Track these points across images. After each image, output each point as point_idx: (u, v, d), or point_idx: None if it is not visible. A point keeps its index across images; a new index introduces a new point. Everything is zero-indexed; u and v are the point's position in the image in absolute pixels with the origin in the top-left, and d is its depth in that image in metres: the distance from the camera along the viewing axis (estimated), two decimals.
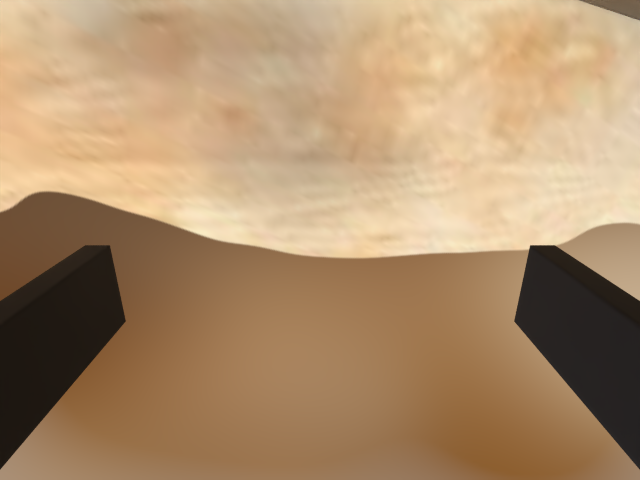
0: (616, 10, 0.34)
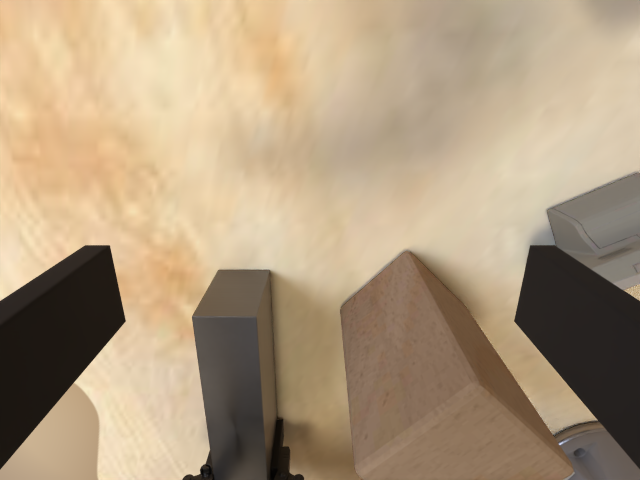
0: None
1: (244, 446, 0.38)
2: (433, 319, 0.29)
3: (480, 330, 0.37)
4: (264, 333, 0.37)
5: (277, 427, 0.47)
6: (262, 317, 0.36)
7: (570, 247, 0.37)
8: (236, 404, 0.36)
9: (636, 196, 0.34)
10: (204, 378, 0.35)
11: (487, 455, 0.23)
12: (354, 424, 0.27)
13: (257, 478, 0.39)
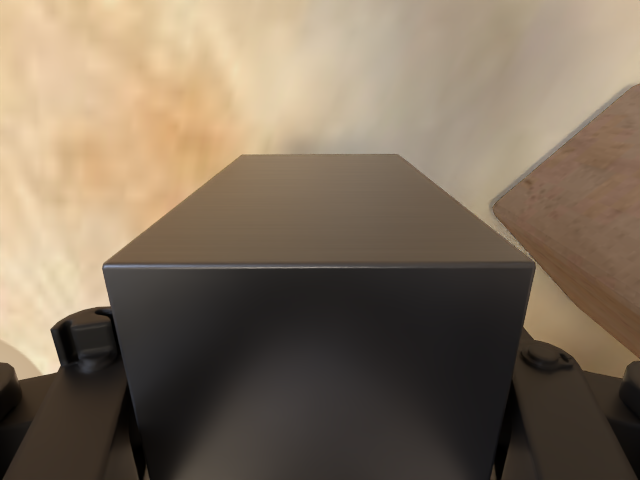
0: None
1: None
2: None
3: None
4: None
5: None
6: None
7: None
8: None
9: None
10: None
11: None
12: None
13: None
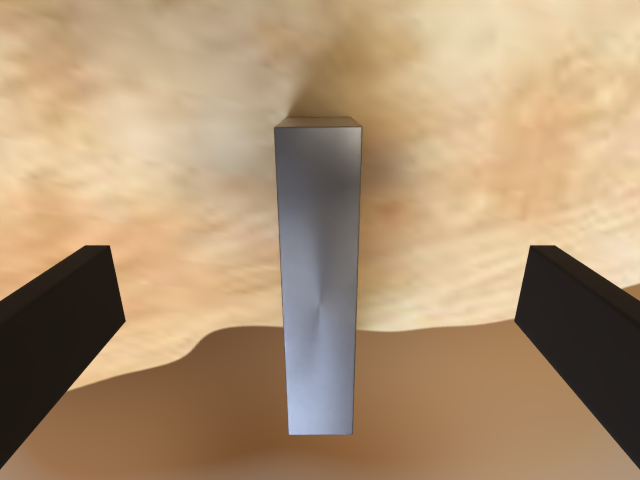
0: None
1: (329, 329, 0.29)
2: None
3: None
4: None
5: None
6: None
7: None
8: (323, 267, 0.27)
9: None
10: (284, 226, 0.26)
11: None
12: None
13: (341, 376, 0.31)
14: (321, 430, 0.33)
